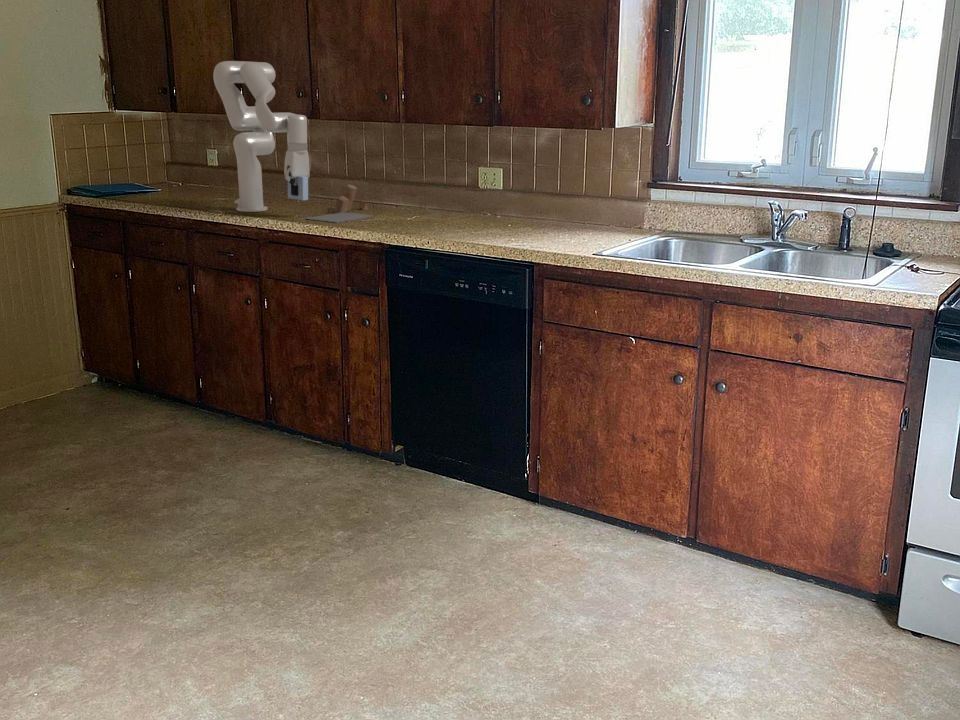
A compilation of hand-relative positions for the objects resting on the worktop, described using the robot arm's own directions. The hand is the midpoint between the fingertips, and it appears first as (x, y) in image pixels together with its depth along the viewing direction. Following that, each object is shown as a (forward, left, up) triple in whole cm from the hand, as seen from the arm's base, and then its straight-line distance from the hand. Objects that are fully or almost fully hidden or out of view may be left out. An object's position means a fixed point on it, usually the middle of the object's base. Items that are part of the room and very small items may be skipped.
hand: (297, 194), depth 375 cm
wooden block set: (+5, +25, -9) cm, 27 cm away
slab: (0, 0, -2) cm, 2 cm away
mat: (+15, +7, -9) cm, 19 cm away
